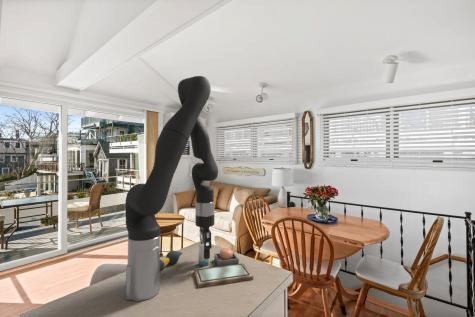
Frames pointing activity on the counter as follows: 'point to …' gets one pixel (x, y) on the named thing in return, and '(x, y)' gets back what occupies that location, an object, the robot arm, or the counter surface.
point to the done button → (226, 254)
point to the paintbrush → (170, 259)
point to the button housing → (225, 262)
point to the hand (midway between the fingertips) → (205, 254)
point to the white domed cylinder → (202, 256)
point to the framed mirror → (222, 275)
